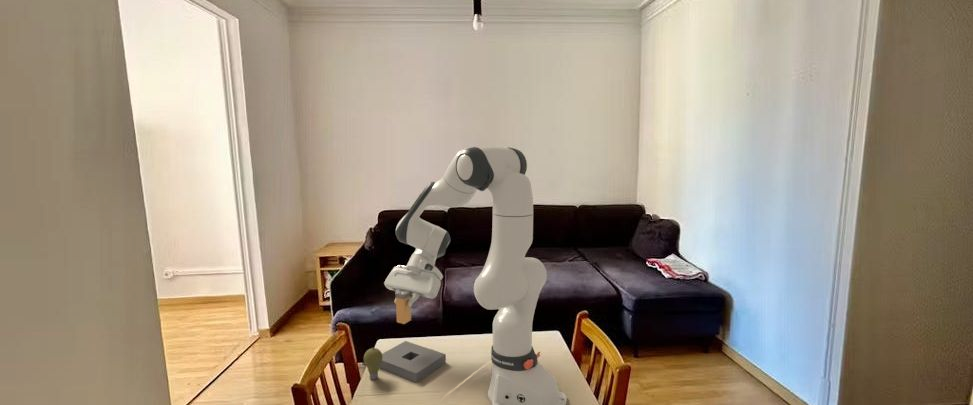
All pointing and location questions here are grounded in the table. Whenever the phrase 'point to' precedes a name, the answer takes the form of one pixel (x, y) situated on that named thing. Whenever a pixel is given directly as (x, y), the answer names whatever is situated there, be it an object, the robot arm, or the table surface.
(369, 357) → the light bulb
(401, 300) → the plug
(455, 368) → the table surface
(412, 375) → the grey block with hole
